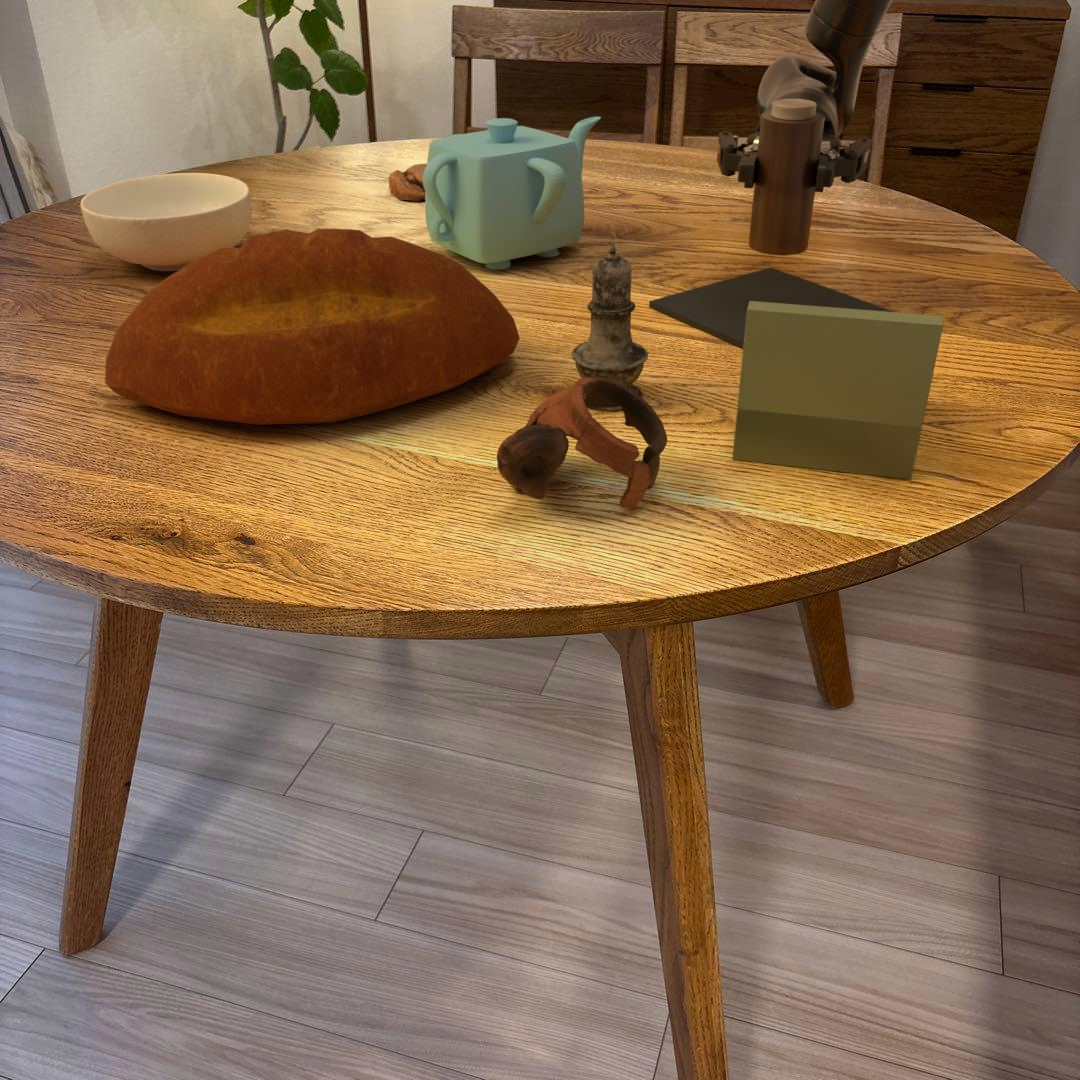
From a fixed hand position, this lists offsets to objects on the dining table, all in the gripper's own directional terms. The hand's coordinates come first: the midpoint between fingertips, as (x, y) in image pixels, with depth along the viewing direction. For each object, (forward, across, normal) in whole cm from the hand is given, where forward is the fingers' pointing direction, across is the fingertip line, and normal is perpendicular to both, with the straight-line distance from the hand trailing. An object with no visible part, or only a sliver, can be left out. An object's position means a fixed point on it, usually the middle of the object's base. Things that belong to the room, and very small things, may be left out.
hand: (784, 177), depth 87 cm
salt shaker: (+18, -11, +13) cm, 25 cm away
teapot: (-16, -28, +13) cm, 35 cm away
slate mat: (-2, 0, +13) cm, 13 cm away
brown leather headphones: (+33, -10, +13) cm, 37 cm away
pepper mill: (-3, 0, +7) cm, 7 cm away
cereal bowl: (-4, -62, +13) cm, 64 cm away
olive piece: (+21, +6, +13) cm, 25 cm away
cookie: (-35, -45, +13) cm, 59 cm away
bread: (+21, -34, +13) cm, 42 cm away
